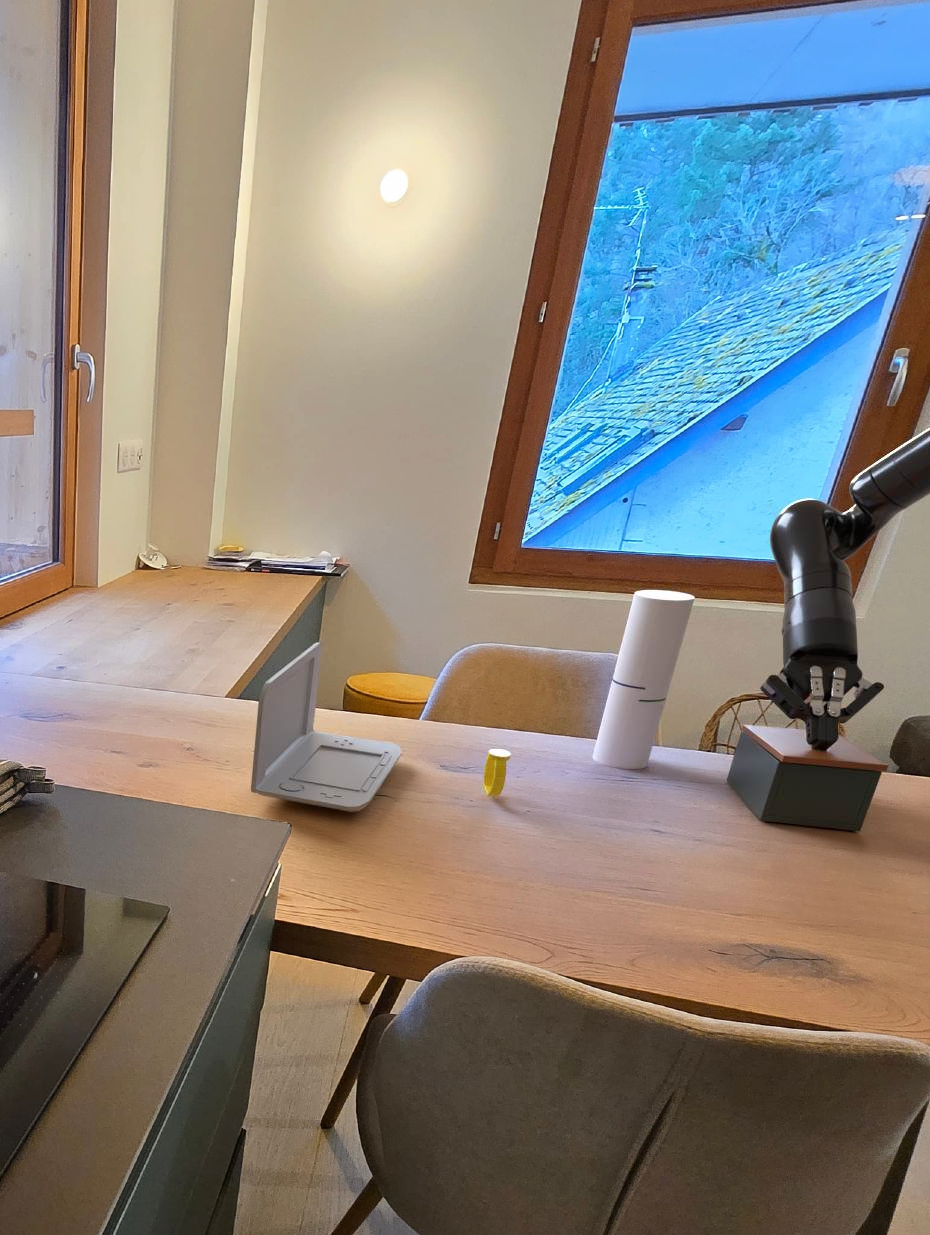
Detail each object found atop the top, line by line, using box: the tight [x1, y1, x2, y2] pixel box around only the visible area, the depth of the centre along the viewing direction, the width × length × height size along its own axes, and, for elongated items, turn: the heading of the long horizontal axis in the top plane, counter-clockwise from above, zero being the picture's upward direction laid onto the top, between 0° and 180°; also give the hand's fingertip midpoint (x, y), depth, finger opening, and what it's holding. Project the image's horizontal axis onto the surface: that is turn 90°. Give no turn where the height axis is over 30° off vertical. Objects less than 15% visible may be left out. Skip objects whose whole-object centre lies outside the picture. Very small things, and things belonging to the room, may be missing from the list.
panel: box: [741, 724, 889, 772], centre depth 124 cm, size 16×11×1 cm, turn 160°
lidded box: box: [726, 730, 883, 832], centre depth 126 cm, size 16×11×8 cm
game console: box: [250, 641, 403, 813], centre depth 134 cm, size 28×15×15 cm, turn 149°
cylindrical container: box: [592, 589, 695, 770], centre depth 138 cm, size 7×7×25 cm
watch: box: [483, 748, 512, 797], centre depth 130 cm, size 6×3×6 cm, turn 167°
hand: (822, 746), depth 120 cm, fingers closed
